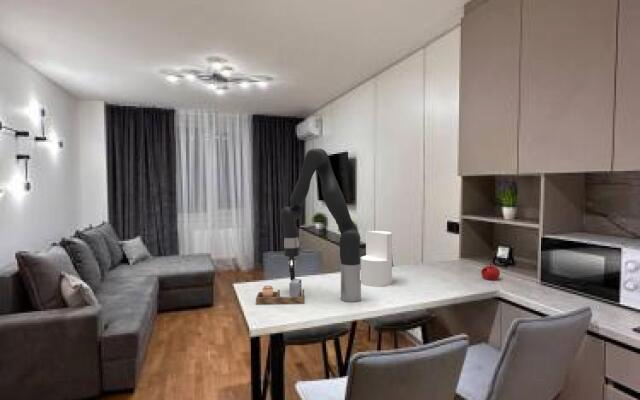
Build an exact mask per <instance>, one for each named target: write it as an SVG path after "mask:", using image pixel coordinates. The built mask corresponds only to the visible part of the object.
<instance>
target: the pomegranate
mask: <svg viewBox="0 0 640 400" xmlns="http://www.w3.org/2000/svg"><path fill="white" fill-rule="evenodd" d="M480 274H481V277H482V278H483V279H485V280H486V281H487V280H488V281H497V280H498V279H499V278H500V275H501V271H500V269H499V267H497V266H496V265H495V264H494V265H492V262H490V263H489V265H488V264H486V265H484V266H483V268H482V269H481V271H480Z"/></svg>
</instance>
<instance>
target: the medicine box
mask: <svg viewBox="0 0 640 400" xmlns="http://www.w3.org/2000/svg"><path fill="white" fill-rule="evenodd" d="M302 292H303V288H302V279H301V278H295V279H293V280H292V281H291V280H290V282H289V297H302Z"/></svg>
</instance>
